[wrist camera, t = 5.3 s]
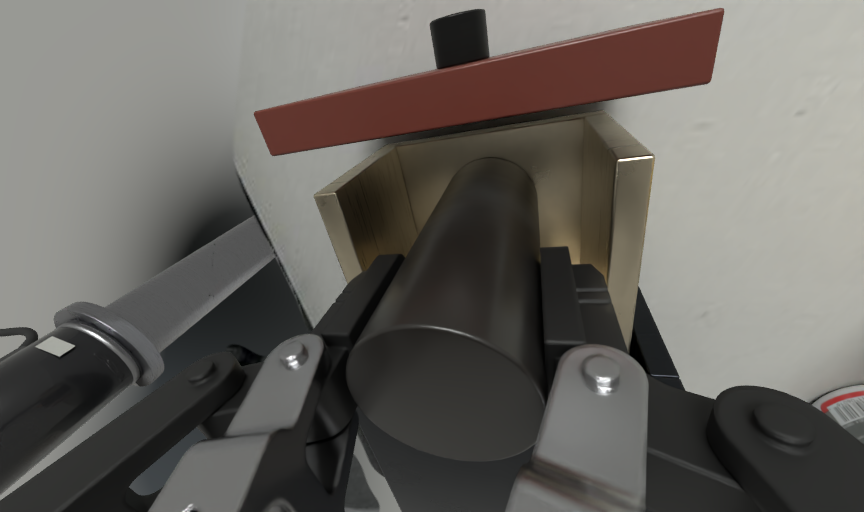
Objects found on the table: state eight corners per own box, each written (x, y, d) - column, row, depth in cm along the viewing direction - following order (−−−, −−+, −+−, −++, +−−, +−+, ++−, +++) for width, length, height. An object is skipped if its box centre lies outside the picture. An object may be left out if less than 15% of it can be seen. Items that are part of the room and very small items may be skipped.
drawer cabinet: (402, 256, 20) (332, 372, 13) (621, 246, 16) (691, 400, 9) (438, 385, 25) (403, 516, 18) (606, 399, 22) (643, 567, 15)
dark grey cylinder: (453, 245, 16) (375, 449, 8) (438, 164, 14) (314, 323, 6) (539, 240, 15) (551, 475, 7) (535, 151, 13) (546, 329, 5)
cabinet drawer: (350, 55, 14) (229, 60, 8) (633, -19, 11) (745, -88, 5) (412, 283, 20) (365, 377, 14) (609, 279, 16) (650, 400, 11)
